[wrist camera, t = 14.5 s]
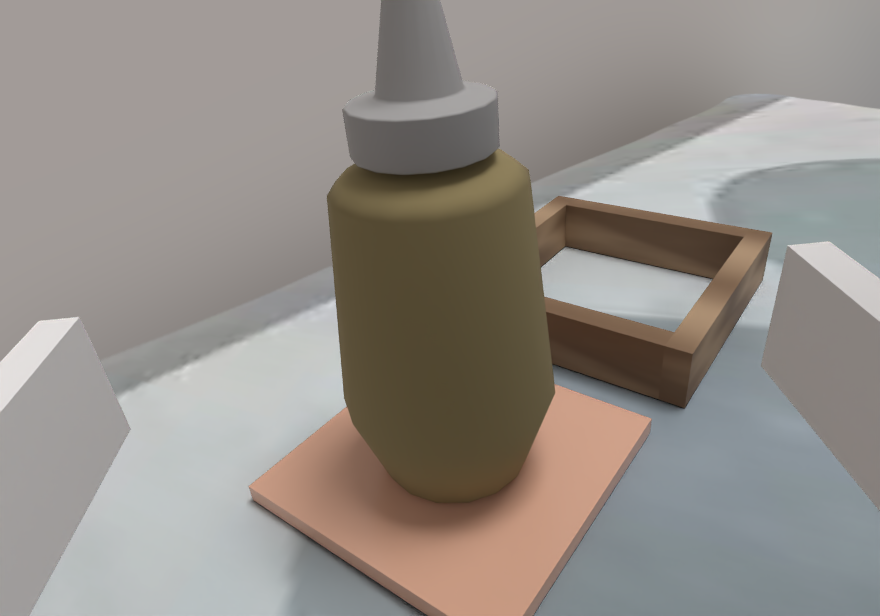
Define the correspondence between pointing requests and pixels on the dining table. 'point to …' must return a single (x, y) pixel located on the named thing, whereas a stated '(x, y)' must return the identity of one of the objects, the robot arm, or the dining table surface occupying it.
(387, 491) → the tile
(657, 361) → the bottle holder
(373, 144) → the squeeze bottle
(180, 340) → the dining table surface
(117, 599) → the dining table surface
